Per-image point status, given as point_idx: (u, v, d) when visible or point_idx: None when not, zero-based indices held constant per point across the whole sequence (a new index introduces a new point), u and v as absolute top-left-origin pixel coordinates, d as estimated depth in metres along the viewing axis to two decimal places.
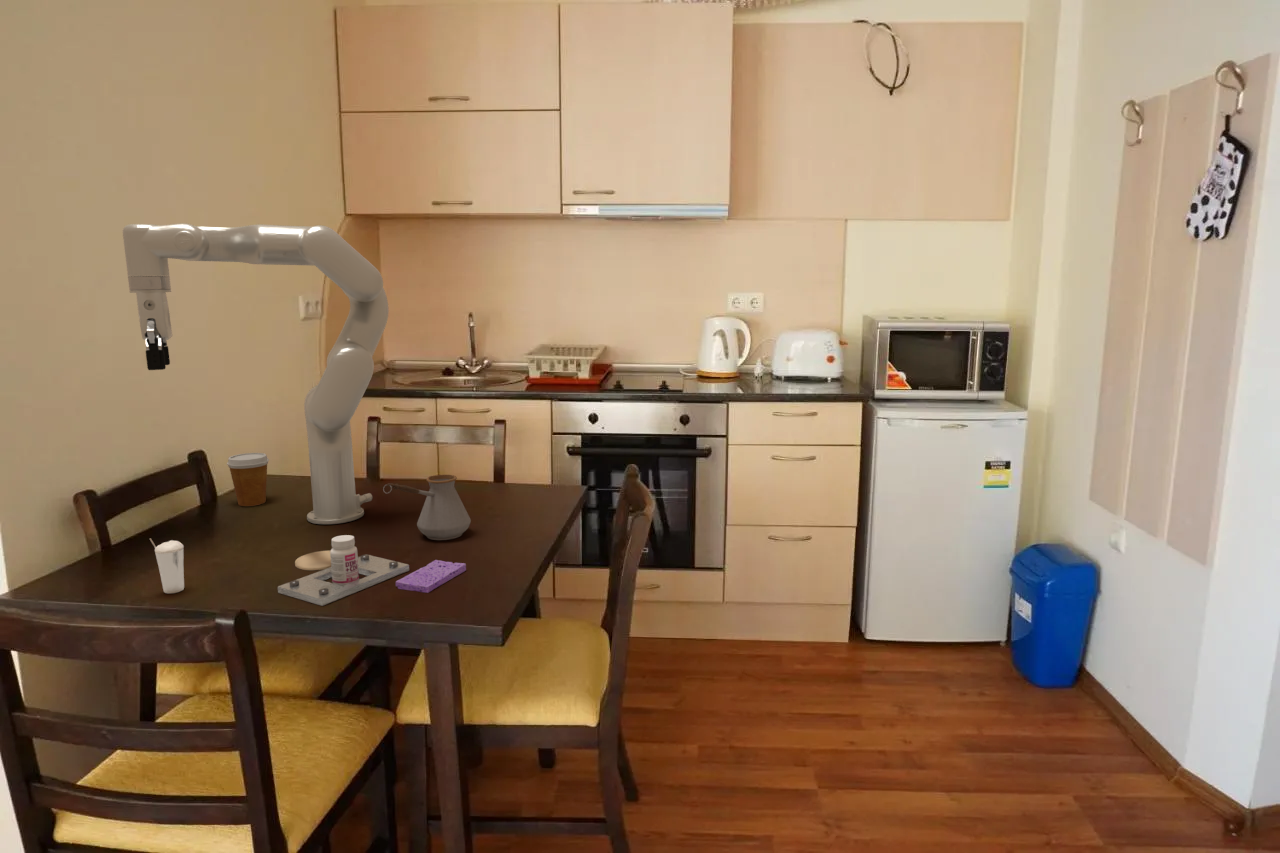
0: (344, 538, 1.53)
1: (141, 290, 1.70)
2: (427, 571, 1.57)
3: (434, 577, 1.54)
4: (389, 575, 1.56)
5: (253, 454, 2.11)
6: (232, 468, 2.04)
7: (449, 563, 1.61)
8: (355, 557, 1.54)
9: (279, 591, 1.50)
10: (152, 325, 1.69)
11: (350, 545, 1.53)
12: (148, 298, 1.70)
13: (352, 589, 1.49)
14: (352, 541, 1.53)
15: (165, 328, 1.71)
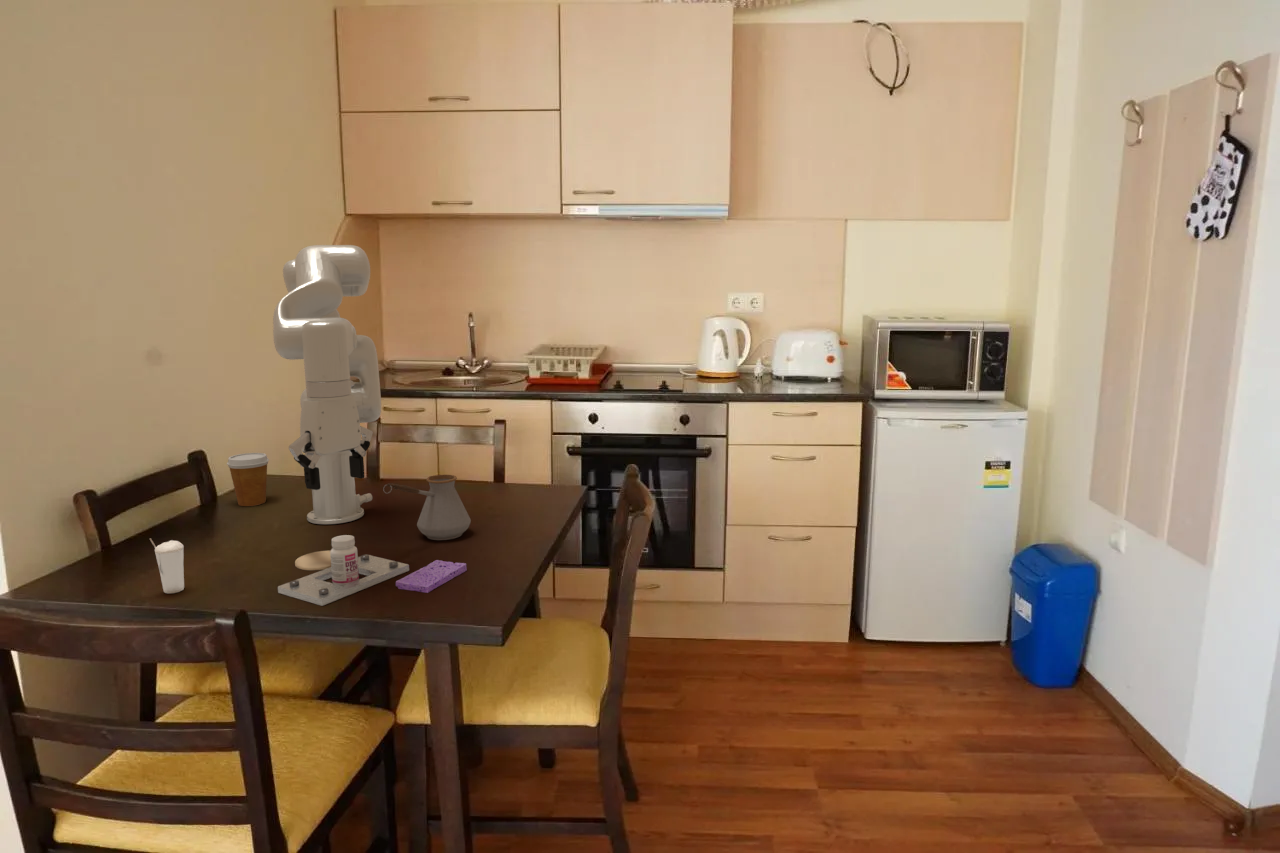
0: (344, 538, 1.53)
1: None
2: (427, 571, 1.57)
3: (434, 576, 1.54)
4: (389, 575, 1.56)
5: (253, 454, 2.11)
6: (232, 468, 2.04)
7: (450, 563, 1.61)
8: (355, 557, 1.54)
9: (279, 591, 1.50)
10: None
11: (350, 545, 1.53)
12: None
13: (352, 589, 1.49)
14: (352, 541, 1.53)
15: None
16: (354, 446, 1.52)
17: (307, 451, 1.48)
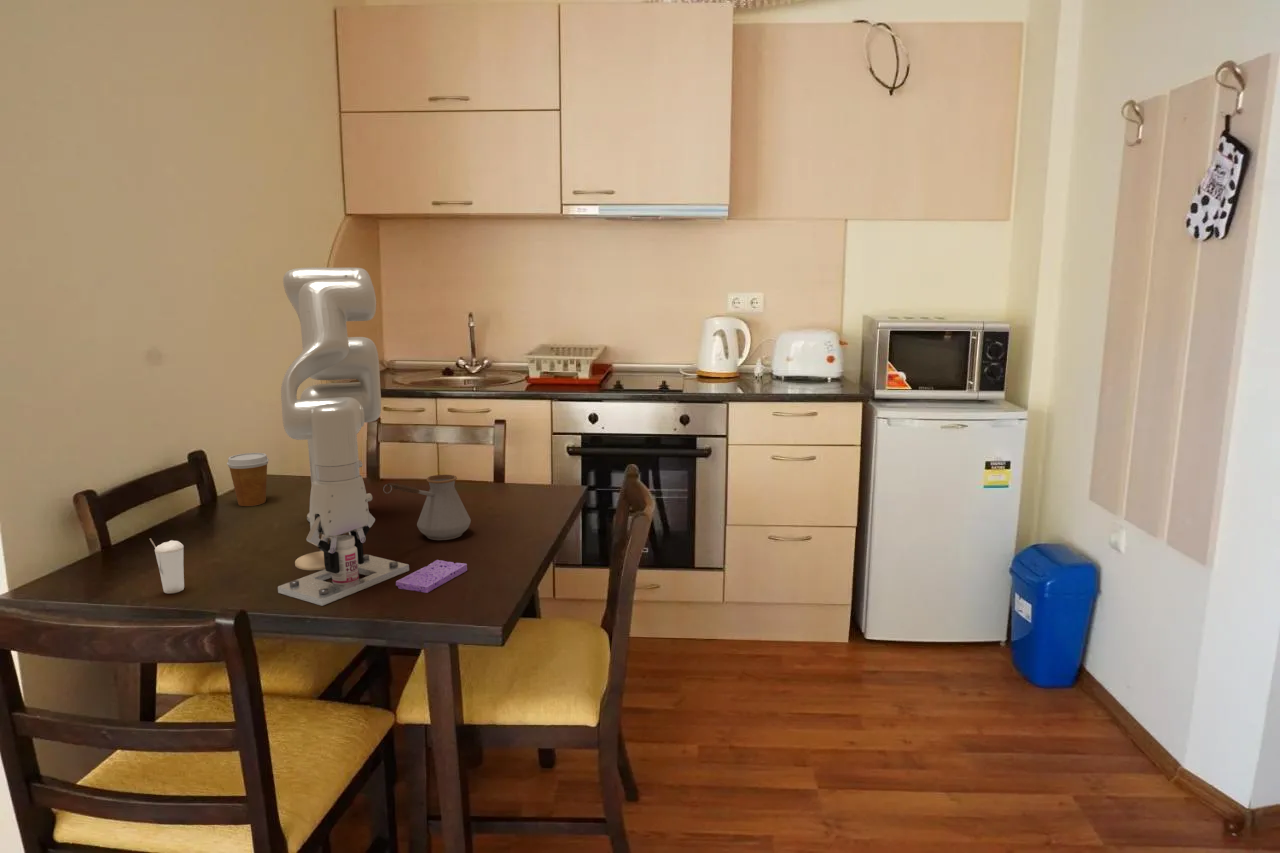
0: (345, 538, 1.53)
1: None
2: (428, 571, 1.57)
3: (435, 577, 1.54)
4: (389, 575, 1.56)
5: (253, 454, 2.11)
6: (232, 468, 2.04)
7: (450, 563, 1.61)
8: (355, 557, 1.54)
9: (279, 591, 1.50)
10: None
11: (350, 545, 1.53)
12: None
13: (352, 589, 1.49)
14: (352, 541, 1.53)
15: None
16: (362, 525, 1.55)
17: None
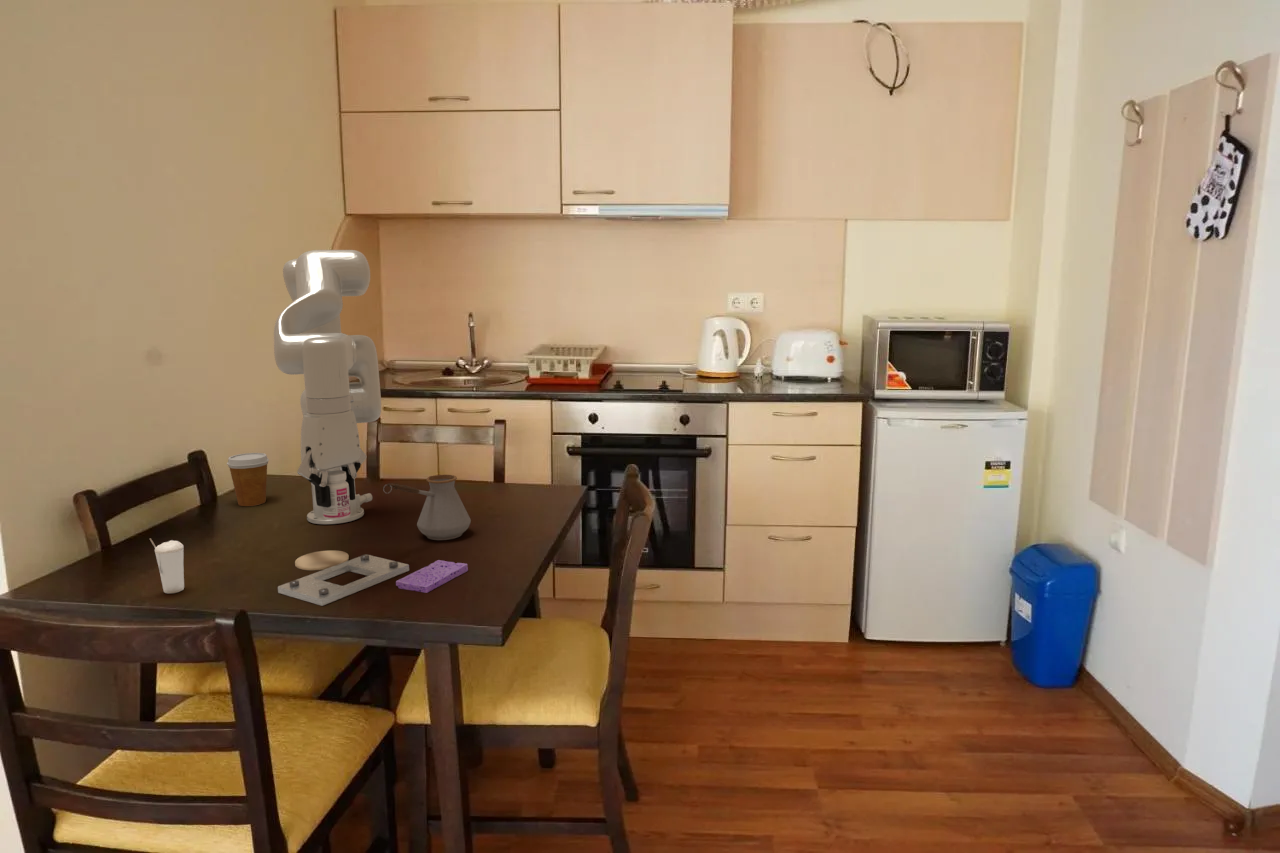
0: (336, 473, 1.53)
1: None
2: (428, 571, 1.57)
3: (435, 577, 1.54)
4: (389, 575, 1.56)
5: (253, 454, 2.11)
6: (232, 468, 2.04)
7: (451, 563, 1.61)
8: (347, 492, 1.54)
9: (279, 591, 1.50)
10: None
11: (342, 479, 1.53)
12: None
13: (352, 589, 1.49)
14: (344, 476, 1.53)
15: None
16: (354, 460, 1.55)
17: None
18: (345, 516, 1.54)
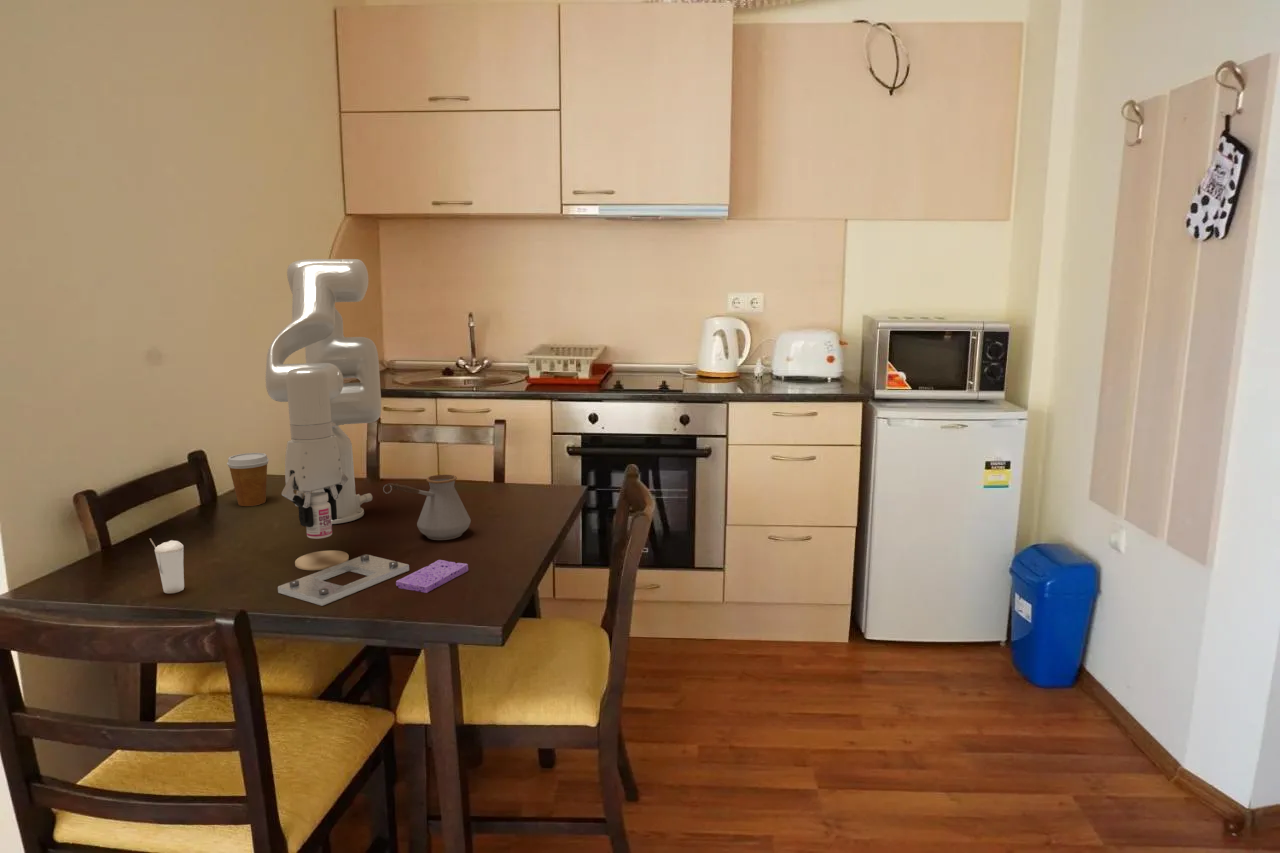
0: (318, 494, 1.63)
1: None
2: (429, 571, 1.57)
3: (435, 577, 1.54)
4: (389, 575, 1.56)
5: (253, 454, 2.11)
6: (232, 468, 2.04)
7: (452, 563, 1.61)
8: (328, 512, 1.64)
9: (279, 591, 1.50)
10: None
11: (324, 500, 1.63)
12: None
13: (352, 589, 1.49)
14: (326, 497, 1.63)
15: None
16: (335, 483, 1.65)
17: None
18: (327, 535, 1.64)
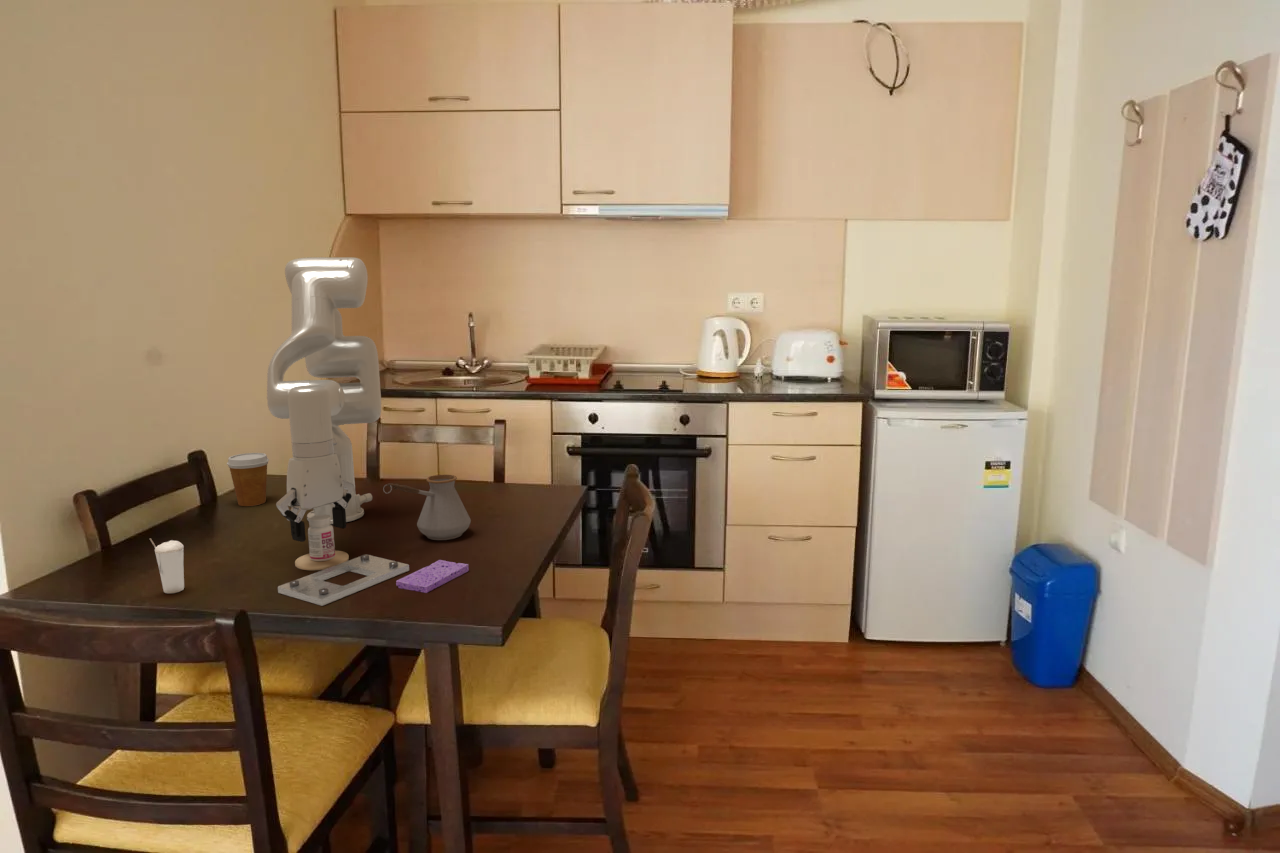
0: (321, 517, 1.64)
1: None
2: (429, 571, 1.57)
3: (435, 577, 1.54)
4: (389, 575, 1.56)
5: (253, 454, 2.11)
6: (232, 468, 2.04)
7: (452, 563, 1.61)
8: (331, 535, 1.65)
9: (279, 591, 1.50)
10: None
11: (326, 524, 1.64)
12: None
13: (352, 589, 1.49)
14: (328, 520, 1.64)
15: None
16: (337, 499, 1.65)
17: (293, 506, 1.61)
18: (330, 557, 1.65)
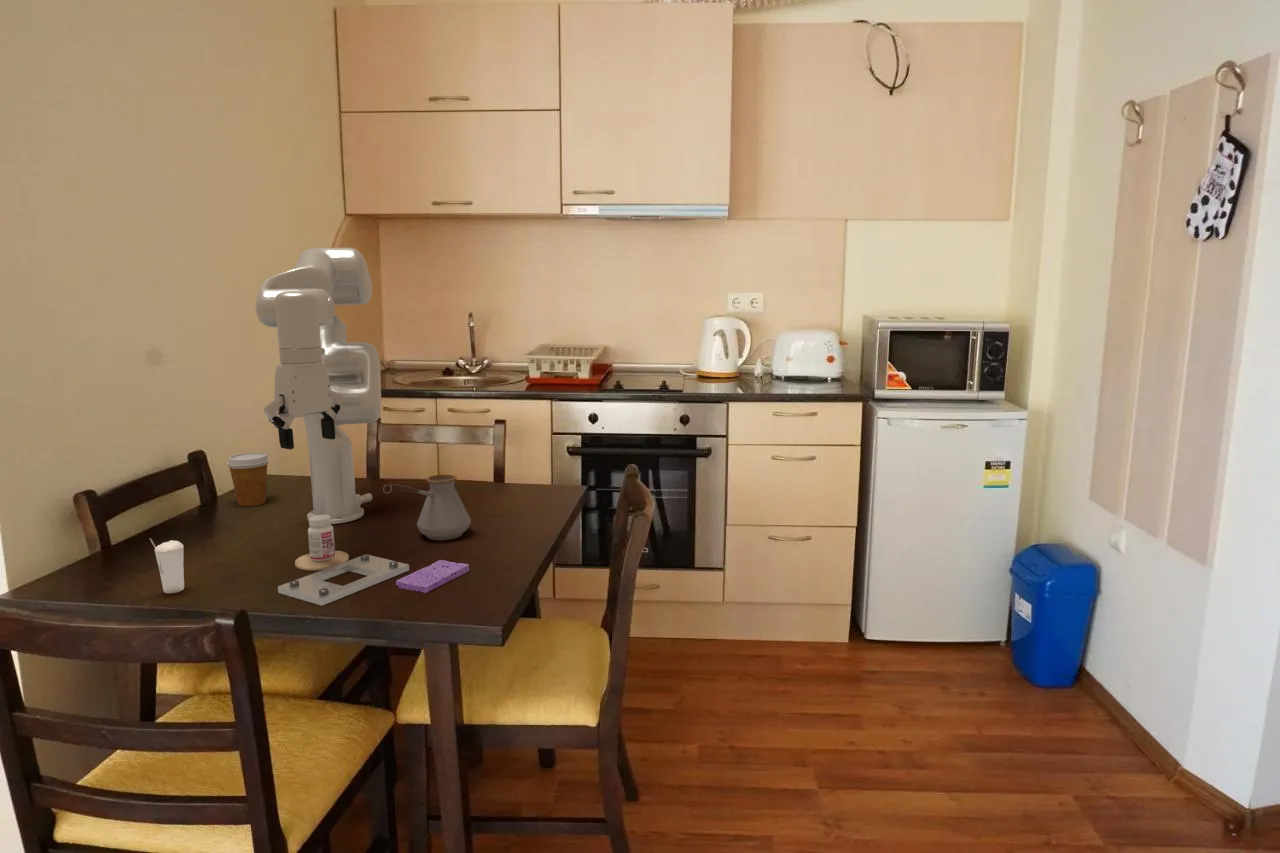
0: (321, 518, 1.64)
1: None
2: (429, 571, 1.57)
3: (435, 577, 1.54)
4: (389, 575, 1.56)
5: (253, 454, 2.11)
6: (232, 468, 2.04)
7: (453, 563, 1.61)
8: (331, 535, 1.65)
9: (279, 591, 1.50)
10: None
11: (326, 524, 1.64)
12: None
13: (352, 589, 1.49)
14: (328, 520, 1.64)
15: None
16: (325, 409, 1.64)
17: (281, 413, 1.59)
18: (330, 557, 1.65)
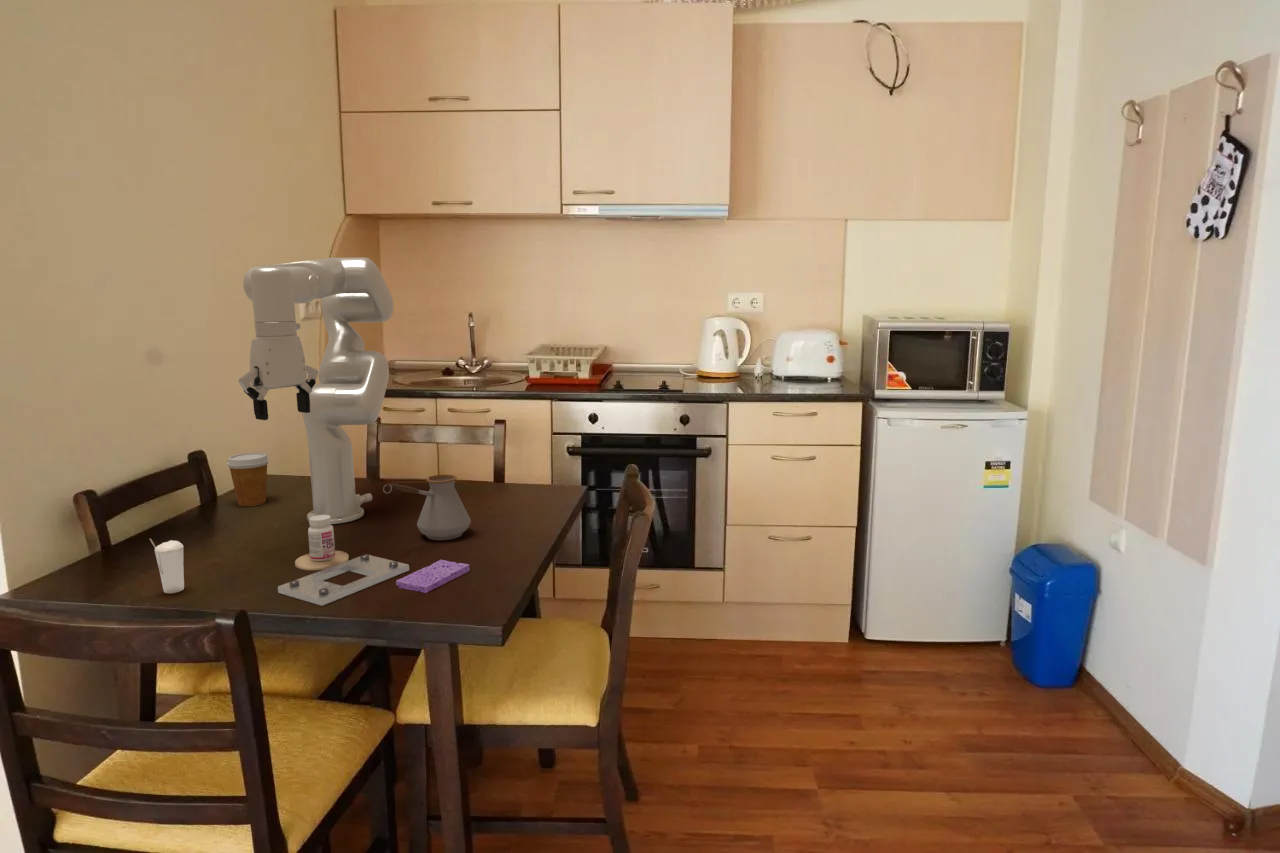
0: (321, 517, 1.64)
1: None
2: (429, 571, 1.57)
3: (435, 577, 1.54)
4: (389, 575, 1.56)
5: (253, 454, 2.11)
6: (232, 468, 2.04)
7: (453, 563, 1.61)
8: (331, 535, 1.65)
9: (279, 591, 1.50)
10: None
11: (326, 524, 1.64)
12: None
13: (352, 589, 1.49)
14: (328, 520, 1.65)
15: None
16: (300, 382, 1.69)
17: (256, 385, 1.64)
18: (330, 557, 1.65)
